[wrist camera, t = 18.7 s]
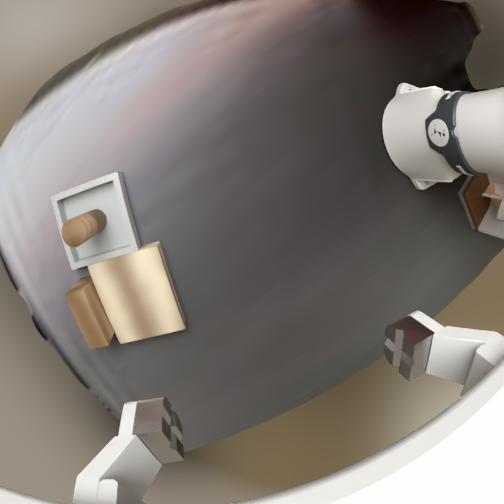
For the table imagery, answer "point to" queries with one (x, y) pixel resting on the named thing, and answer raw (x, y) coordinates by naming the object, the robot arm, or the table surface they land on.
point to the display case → (484, 203)
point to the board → (138, 294)
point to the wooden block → (90, 313)
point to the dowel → (83, 227)
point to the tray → (117, 213)
